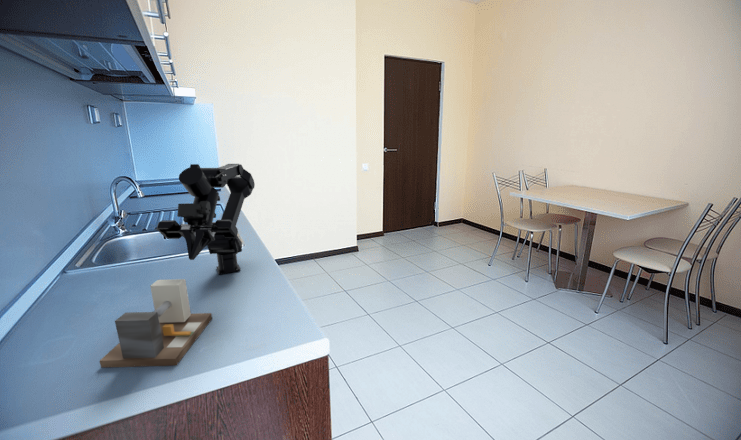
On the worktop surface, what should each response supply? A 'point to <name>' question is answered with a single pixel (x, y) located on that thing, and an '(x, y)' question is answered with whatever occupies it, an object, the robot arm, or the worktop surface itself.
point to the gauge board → (166, 352)
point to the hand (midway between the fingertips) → (191, 259)
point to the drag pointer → (169, 331)
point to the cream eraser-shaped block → (171, 300)
